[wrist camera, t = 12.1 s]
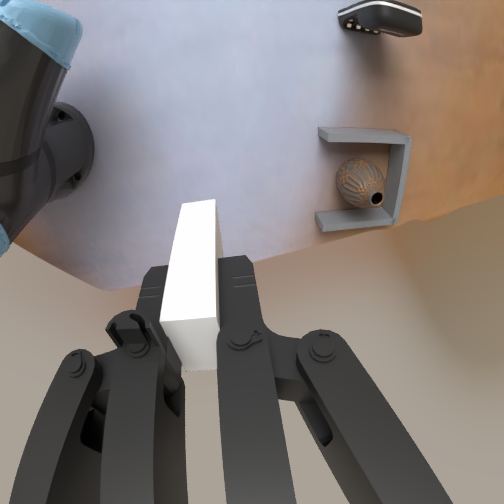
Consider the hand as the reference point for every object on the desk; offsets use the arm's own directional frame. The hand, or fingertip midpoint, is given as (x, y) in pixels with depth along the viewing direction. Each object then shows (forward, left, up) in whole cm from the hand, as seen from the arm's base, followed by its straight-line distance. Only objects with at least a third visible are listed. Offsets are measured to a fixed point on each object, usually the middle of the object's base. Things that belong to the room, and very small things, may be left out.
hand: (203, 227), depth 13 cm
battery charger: (+21, +15, -27) cm, 37 cm away
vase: (+20, -9, -27) cm, 35 cm away
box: (+21, -9, -26) cm, 35 cm away
